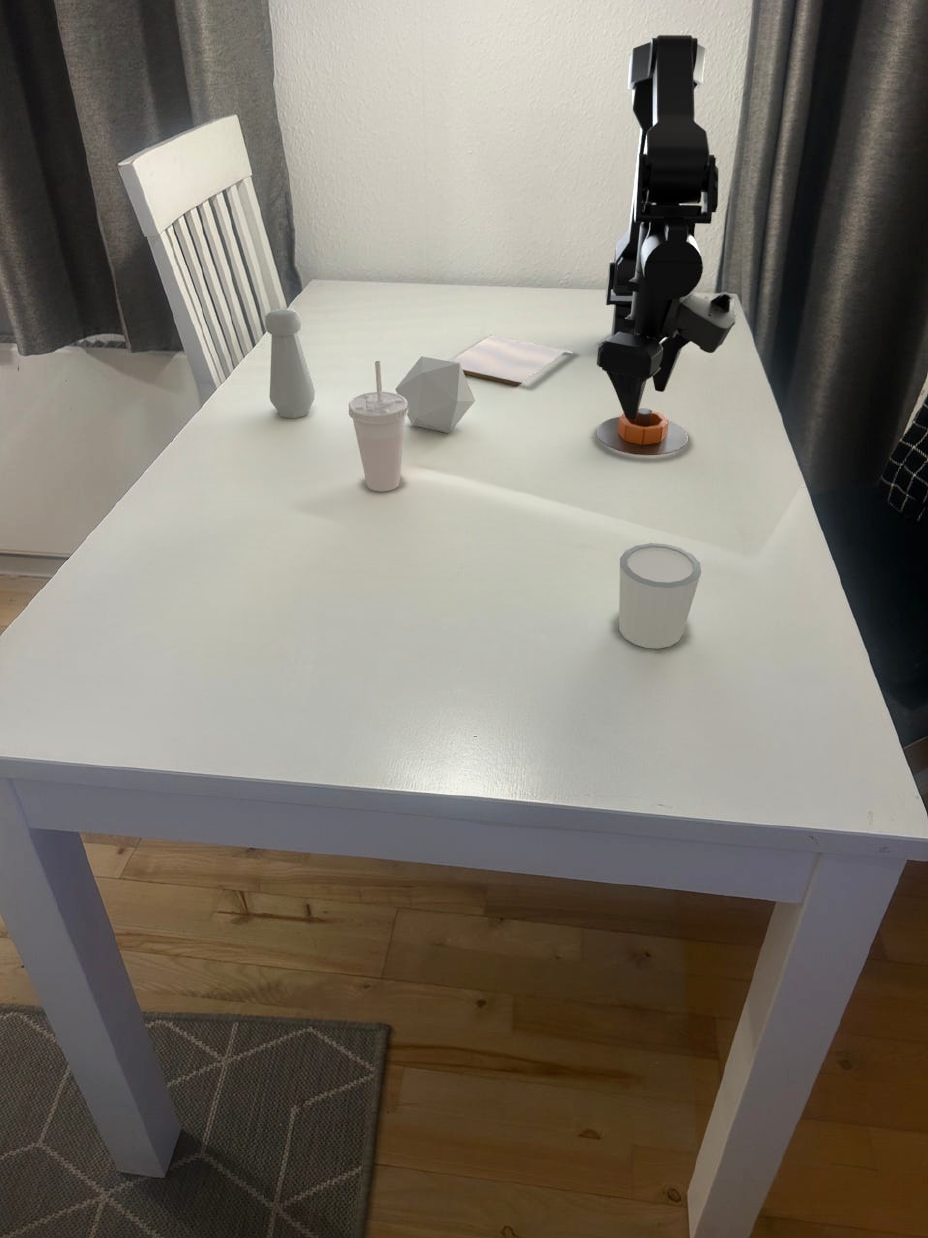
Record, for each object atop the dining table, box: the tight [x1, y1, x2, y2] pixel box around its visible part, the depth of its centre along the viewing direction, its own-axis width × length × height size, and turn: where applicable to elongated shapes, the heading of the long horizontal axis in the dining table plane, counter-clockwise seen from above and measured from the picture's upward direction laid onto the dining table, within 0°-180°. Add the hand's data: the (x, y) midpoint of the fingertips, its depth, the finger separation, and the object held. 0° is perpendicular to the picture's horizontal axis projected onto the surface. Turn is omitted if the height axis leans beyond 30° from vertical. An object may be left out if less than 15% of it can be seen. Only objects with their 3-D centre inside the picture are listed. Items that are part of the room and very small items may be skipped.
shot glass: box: [618, 542, 702, 650], centre depth 79 cm, size 7×7×7 cm
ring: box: [618, 410, 670, 445], centre depth 110 cm, size 6×6×2 cm
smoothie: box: [348, 360, 408, 493], centre depth 99 cm, size 6×6×14 cm
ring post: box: [596, 407, 689, 456], centre depth 110 cm, size 11×11×4 cm
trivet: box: [449, 334, 575, 387], centre depth 132 cm, size 14×14×1 cm
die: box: [395, 355, 476, 434], centre depth 113 cm, size 8×9×10 cm
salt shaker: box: [264, 308, 316, 420], centre depth 115 cm, size 6×6×13 cm
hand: (645, 404), depth 109 cm, fingers open, 9 cm apart
